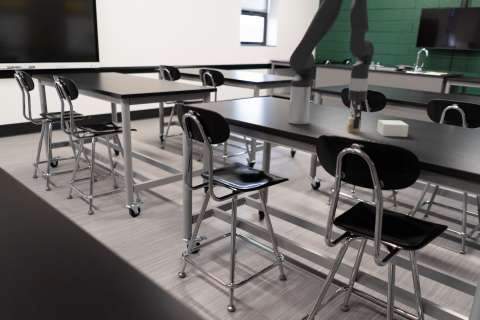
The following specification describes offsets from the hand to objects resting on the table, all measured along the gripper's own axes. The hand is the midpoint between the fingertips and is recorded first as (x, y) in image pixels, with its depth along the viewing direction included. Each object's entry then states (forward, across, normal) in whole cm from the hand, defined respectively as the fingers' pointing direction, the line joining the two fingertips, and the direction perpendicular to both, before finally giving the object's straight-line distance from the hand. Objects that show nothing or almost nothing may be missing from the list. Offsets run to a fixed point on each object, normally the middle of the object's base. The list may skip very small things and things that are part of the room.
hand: (354, 126), depth 174 cm
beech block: (+2, 0, 0) cm, 2 cm away
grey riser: (+3, 0, +16) cm, 16 cm away
